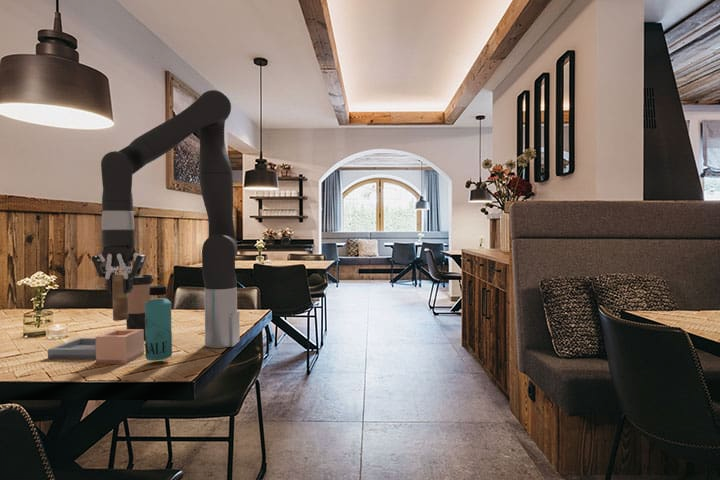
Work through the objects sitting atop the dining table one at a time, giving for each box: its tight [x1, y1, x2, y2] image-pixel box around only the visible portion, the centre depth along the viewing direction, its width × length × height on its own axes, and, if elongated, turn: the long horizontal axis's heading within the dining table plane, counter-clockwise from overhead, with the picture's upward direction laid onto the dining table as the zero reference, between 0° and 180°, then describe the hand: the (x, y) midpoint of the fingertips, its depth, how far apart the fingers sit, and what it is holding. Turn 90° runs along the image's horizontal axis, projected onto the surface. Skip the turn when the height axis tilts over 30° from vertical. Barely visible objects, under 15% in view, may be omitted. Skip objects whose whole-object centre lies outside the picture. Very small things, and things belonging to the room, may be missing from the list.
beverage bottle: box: [144, 285, 174, 361], centre depth 104 cm, size 6×7×20 cm
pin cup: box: [95, 328, 145, 365], centre depth 107 cm, size 8×8×7 cm
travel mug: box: [125, 274, 154, 341], centre depth 128 cm, size 8×8×20 cm
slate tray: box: [47, 337, 96, 360], centre depth 114 cm, size 14×12×2 cm
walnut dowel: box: [111, 273, 128, 322], centre depth 107 cm, size 4×4×12 cm
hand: (119, 292), depth 107 cm, fingers closed on walnut dowel, 3 cm apart
